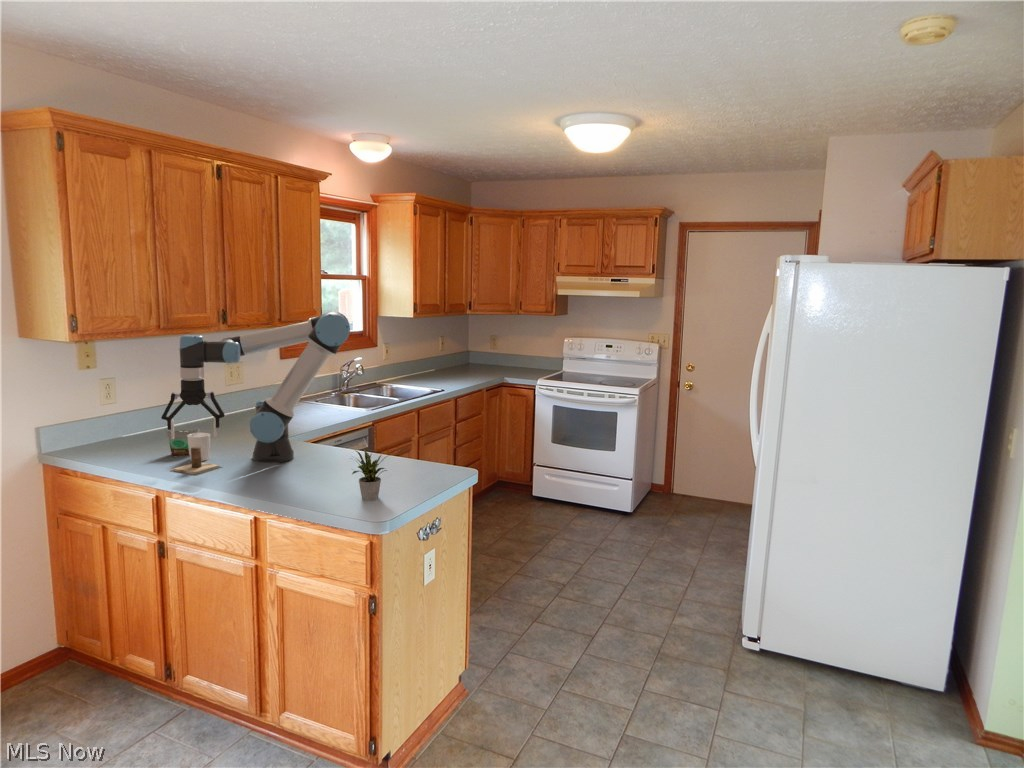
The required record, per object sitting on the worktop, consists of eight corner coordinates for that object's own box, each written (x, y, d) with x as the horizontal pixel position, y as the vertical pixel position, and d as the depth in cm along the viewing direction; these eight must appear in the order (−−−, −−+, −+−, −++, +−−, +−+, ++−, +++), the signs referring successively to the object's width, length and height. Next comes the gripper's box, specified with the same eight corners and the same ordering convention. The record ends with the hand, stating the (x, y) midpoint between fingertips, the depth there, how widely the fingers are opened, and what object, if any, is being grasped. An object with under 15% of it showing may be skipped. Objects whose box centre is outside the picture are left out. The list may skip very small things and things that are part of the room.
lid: (219, 467, 241) (218, 446, 240) (195, 474, 231) (194, 453, 230) (197, 463, 245) (196, 443, 243) (173, 470, 235) (172, 449, 234)
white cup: (185, 460, 251) (184, 434, 250) (206, 456, 257) (205, 431, 255) (192, 464, 246) (191, 438, 244) (214, 460, 251) (213, 435, 250)
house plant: (334, 498, 211) (333, 449, 209) (364, 488, 223) (364, 441, 221) (367, 507, 204) (367, 456, 202) (396, 496, 216) (397, 447, 213)
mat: (223, 468, 241) (223, 467, 241) (195, 477, 230) (195, 475, 230) (198, 464, 246) (198, 462, 246) (169, 472, 235) (169, 471, 234)
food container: (163, 458, 253) (162, 433, 251) (167, 454, 259) (166, 429, 257) (198, 457, 256) (197, 431, 254) (201, 453, 262) (200, 428, 260)
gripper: (230, 376, 241) (232, 433, 244) (153, 377, 232) (156, 436, 235) (230, 379, 234) (231, 438, 237) (151, 381, 225) (153, 441, 228)
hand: (194, 437), depth 236 cm, fingers open, 13 cm apart
